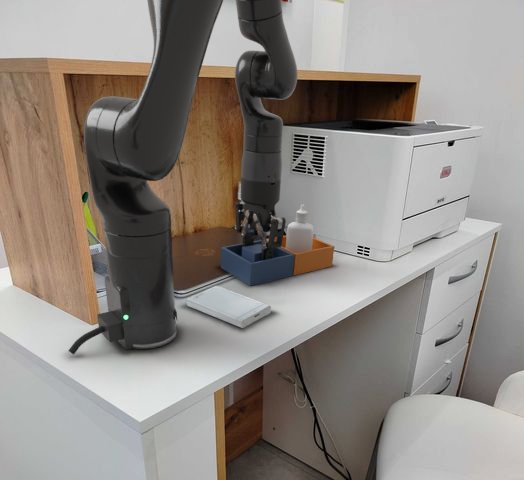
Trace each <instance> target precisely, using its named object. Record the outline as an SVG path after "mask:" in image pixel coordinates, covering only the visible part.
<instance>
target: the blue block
mask: <svg viewBox="0 0 524 480" xmlns="http://www.w3.org/2000/svg"><path fill="white" fill-rule="evenodd" d="M262 248H263V247H262V245H261V244H256V245H251V246H246V247H242V258H244V259H246V260H248V261H250V262H251V263H253V262H257V261H261V254H262Z"/></svg>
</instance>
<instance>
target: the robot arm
mask: <svg viewBox="0 0 524 480" xmlns="http://www.w3.org/2000/svg"><path fill="white" fill-rule="evenodd" d="M146 2H147V10H148V14H149V15H148V16H149V21H150V26H151V30H152V32H151V33H152V38H153V50H152V51H153V52H152V58H151V64H150V67H149V71H148V74H147V76H146V80H145V83H144V84H143V88H142V90H141V92H140V95H139V97H138V98H133V97H124V96H123V97H122V96H111V95H110V96H103V97H101V98H98V99H97V100H96V101H94V102H93V103H92V104H91V106H90V107H89V109H88V111H87V114H86V116H85V121H84V125H83V126H84V127H83V143H84V151H85V158H86V164H87V170H88V175H89V182H90V187H91V194H92V198H93V202H94V205H95V207H96V209H97V211H98V214H99V215H100V218H101V221H102V227H103V228H102V229H103V236H104V245H105V255H106V264H107V271H108V276H105V277H104V287H105V294H106V303H107V311H106V312H101V313H97V315H96V317H97V324H98V327H96V328H94V329H92V330H90V331H87V332H86V333H84V334H82V336H80V337H79V338H77V339H76V340H75V341H74V343H73V344H72V345H71V346H70V347H69V349H68V352H69V353H71V354H72V355H75V354H76V353H77V351H78V350H79V349H80V348H81V346H82V345H84V343H86V342H87V341H89V340H90V339H92V338H95V337H96V336H98V335H100V334H101V335H102V336H103V337H104V338H105V339H106V340H107V341H108V342H109V344H110V343H114V342H117V343H119V345H120V346H122V347H123V349H124V350H126V351H129V350H132V349H139V350H147V349H154V348H158V347H159V348H160V347H163V346H166V345H167V344H169V343H171V342H173V340H174V339H175V338H176V336H177V320H178V312H177V309H176V305H175V303H176V302H175V283H174V282H175V281H174V259H173V236H172V235H173V233H172V214H171V208H170V207H169V206H168V204H167V203H166V202H165V201H164V200H162V199H161V198H160V197H159V196H158V195H157V194H156V193H155V192H154V191H153V189H152V188H151V186H150V184H149V183H148V181H149V182H158V181H161V180H162V179H164V178H166V177H167V176H168V175H169V174H170V173H171V172H172V171H173V169H174V167H175V166H176V164H177V162H178V159H179V157H180V154H181V152H182V151H181V150H182V148H183V144H184V140H185V136H186V132H187V128H188V124H189V118H190V114H191V111H192V106H193V101H194V97H195V92H196V89H197V84H198V80H199V76H200V72H201V70H202V66H203V64H204V60H205V57H206V53H207V49H208V46H209V42H210V40H211V37H212V34H213V30H214V27H215V24H216V22H217V19H218V17H219V13H220V11H221V8H222V5H223V3H224V0H146ZM282 2H283V1H282V0H235V6H236V14H237V21H238V28H239V31H240V34H241V36H243V37H244V38H245V39H247V40H249V41H252V42H254V43H257V44H259V45H260V46H261V47H262V48H263V49H264V50H246V51H244V52H243V53H242V54H241V55H240V56H239V57H238V59H237V62H236V65H235V70H234V80H235V88H236V92H237V96H238V101H239V105H240V112H241V116H242V120H243V121H242V122H243V143H242V144H243V146H242V157H241V165H240V166H241V167H240V200H241V202H239V201H238V202H235V203H234V213H235V215H234V216H235V230H236V233H237V234H238V233H240V237H241V239H242V243H243V247H246V246H251V245H254V241H255V238H254V236H255V233H257V237H258V238H259V239H260V240H261V242H262V247H263V248H262V254H261V261H262V260H267V259H272V258H273V249H274V248H277V247H281V246H282V240H283V236H284V233H285V228H286V222H287V221H286V218H285V217H279V216H277V213H276V205H277V204H278V203H279V202H280V199H281V198H280V197H281V186H282V185H281V184H282V170H283V169H282V168H283V159H282V147H283V134H284V122H283V119H282V117H280V116H279V115H277V114H274V113H271V112H269V111H267V110H266V109H265V107H264V105H263V102H262V99H268V100H279V101H281V100H283V101H284V100H286V99H288V98H290V97H291V96H292V95H293V93H294V91H295V89H296V87H297V83H298V67H297V66H298V65H297V62H296V58H295V54H294V51H293V49H292V46H291V43H290V39H289V36H288V32H287V29H286V26H285V22H284V16H283V3H282ZM267 237H268V238H267ZM276 237H277V240H276V241H275V238H276ZM267 239H269V241H268V242H267Z"/></svg>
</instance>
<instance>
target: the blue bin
mask: <svg viewBox="0 0 524 480" xmlns="http://www.w3.org/2000/svg"><path fill="white" fill-rule="evenodd" d="M256 244H261V245H262V242H261V239H259V240H254V245H256ZM242 247H243V242H242V243H237V244H231V245H226V246H221V247H220V268H221V269H222V270H224V271H225V272H226V273H228V274H229V275H232V276H233V277H235V278H237V279H238V280H240V281H241V282H243V283H245V284H246V285H248V286H249V287H251V286H256V285H260V284H263V283H264V284H265V283H268V282H272V281H277V280H280V279H284V278H289V277H292V276H294V275H293V265H294V254H292V253H289V252H287V251H285V250H283V249H281V248H279V247H277V248H274V249H273V258H272V259H267V260H262V261H257V262H253V263H251V262H250V261H248V260H246V259H244V258H242Z"/></svg>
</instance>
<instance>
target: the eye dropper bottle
mask: <svg viewBox="0 0 524 480" xmlns="http://www.w3.org/2000/svg"><path fill="white" fill-rule="evenodd" d="M305 207H306V206H305V204H300V208H299V209H298V210H296V211H295V221H292V222H290V223H289V224H288V225H287V228H286V235H287V237H286V249H288V250H290V251H292V252H294V253H300V252H305V251H310V250H312V243H313V237H314V234H315V233H314V232H315V228H314V226H313V224H311V223H309V222H308V217H309V212H308V211H307V210H306V208H305Z"/></svg>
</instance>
